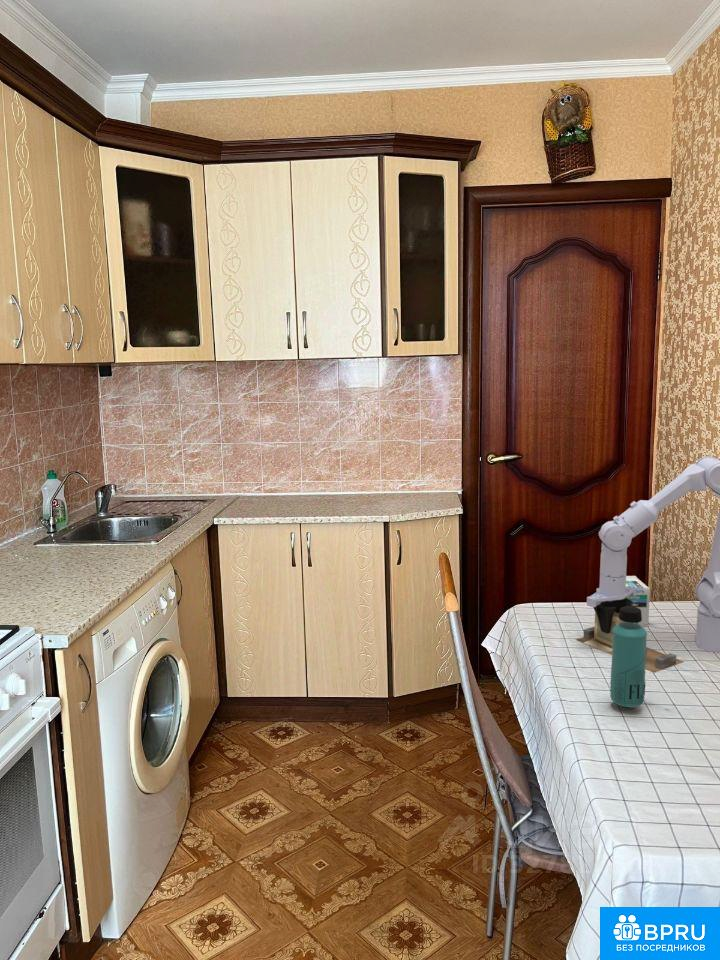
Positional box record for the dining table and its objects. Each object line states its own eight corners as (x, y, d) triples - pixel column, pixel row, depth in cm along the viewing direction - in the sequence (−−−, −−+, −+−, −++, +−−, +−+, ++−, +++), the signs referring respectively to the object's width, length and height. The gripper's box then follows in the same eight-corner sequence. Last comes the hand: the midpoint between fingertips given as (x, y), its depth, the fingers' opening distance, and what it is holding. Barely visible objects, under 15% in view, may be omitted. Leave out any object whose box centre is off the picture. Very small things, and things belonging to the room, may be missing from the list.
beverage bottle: (627, 717, 144) (632, 616, 140) (601, 703, 150) (605, 606, 146) (652, 709, 147) (657, 610, 143) (625, 696, 153) (630, 600, 149)
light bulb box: (649, 630, 187) (651, 588, 185) (621, 630, 187) (623, 588, 185) (634, 614, 198) (636, 574, 196) (608, 615, 198) (609, 575, 196)
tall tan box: (602, 636, 181) (604, 608, 180) (626, 645, 175) (628, 616, 174) (593, 638, 179) (595, 610, 178) (617, 648, 174) (619, 619, 172)
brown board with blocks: (604, 633, 185) (604, 622, 185) (684, 665, 167) (684, 653, 166) (575, 642, 180) (575, 631, 179) (654, 676, 161) (654, 663, 161)
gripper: (620, 564, 181) (617, 619, 184) (577, 575, 174) (575, 631, 176) (645, 571, 176) (642, 627, 178) (601, 582, 168) (599, 641, 171)
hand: (610, 630), depth 177 cm, fingers closed on tall tan box, 3 cm apart
